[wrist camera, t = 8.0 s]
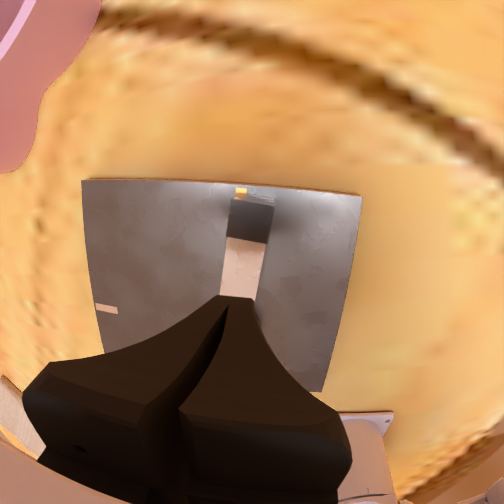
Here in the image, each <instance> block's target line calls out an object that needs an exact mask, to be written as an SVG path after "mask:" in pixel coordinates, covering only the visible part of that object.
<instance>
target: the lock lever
mask: <svg viewBox="0 0 504 504" xmlns="http://www.w3.org/2000/svg"><path fill="white" fill-rule="evenodd" d="M275 201H276V199H272V198H266V197H261V196H255V195H249V194H244V193H238V192H237V193H236V194H235V195H234V196H233V197H232V198H231V203H230V210H229V217H228V224H227V231H226V237H227V244H226V251H225V258H224V265H223V273H222V280H221V287H220V295H225V296H235V297H245V298H252V299H253V300H254V301H255V298H256V293H257V288H258V283H259V277H260V272H261V267H262V262H263V256H264V251H265V246H266V244H268V240H269V235H270V230H271V224H272V219H273V214H274V208H275ZM257 320H258V319H257ZM258 322H259V321H258ZM259 325H260V323H259ZM260 327H261V326H260Z"/></svg>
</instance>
